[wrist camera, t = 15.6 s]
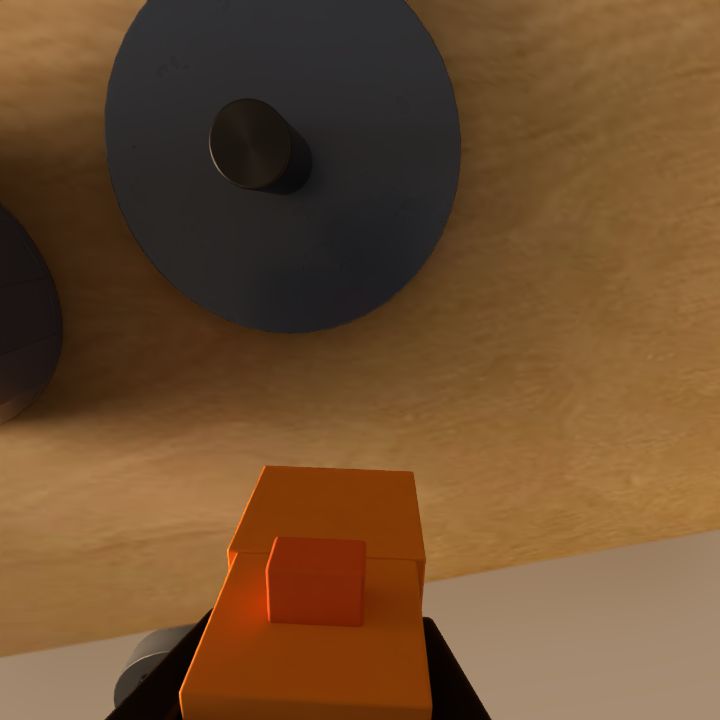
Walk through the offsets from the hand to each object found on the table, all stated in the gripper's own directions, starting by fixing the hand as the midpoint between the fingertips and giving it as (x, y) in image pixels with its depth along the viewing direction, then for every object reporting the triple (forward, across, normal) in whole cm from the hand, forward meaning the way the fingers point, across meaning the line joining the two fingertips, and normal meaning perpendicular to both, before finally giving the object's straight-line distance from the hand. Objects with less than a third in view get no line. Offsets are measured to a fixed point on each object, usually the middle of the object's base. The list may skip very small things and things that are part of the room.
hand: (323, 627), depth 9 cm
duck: (+4, 0, +1) cm, 4 cm away
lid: (+12, +3, -10) cm, 16 cm away
